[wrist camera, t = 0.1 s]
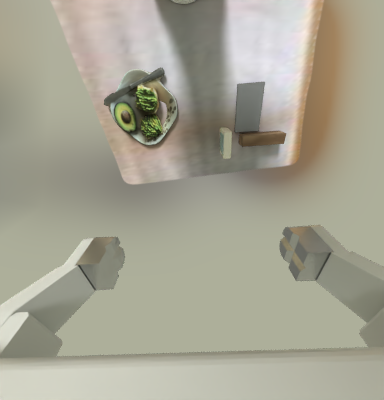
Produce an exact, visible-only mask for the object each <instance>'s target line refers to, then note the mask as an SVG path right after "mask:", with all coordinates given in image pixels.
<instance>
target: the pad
mask: <svg viewBox="0 0 384 400" xmlns="http://www.w3.org/2000/svg"><path fill="white" fill-rule="evenodd" d="M264 86H265V82H256V83H244V84H238V85H237V102H236V118H235V132H247V131H259V124H260V116H261V109H262V101H263V93H264Z"/></svg>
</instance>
